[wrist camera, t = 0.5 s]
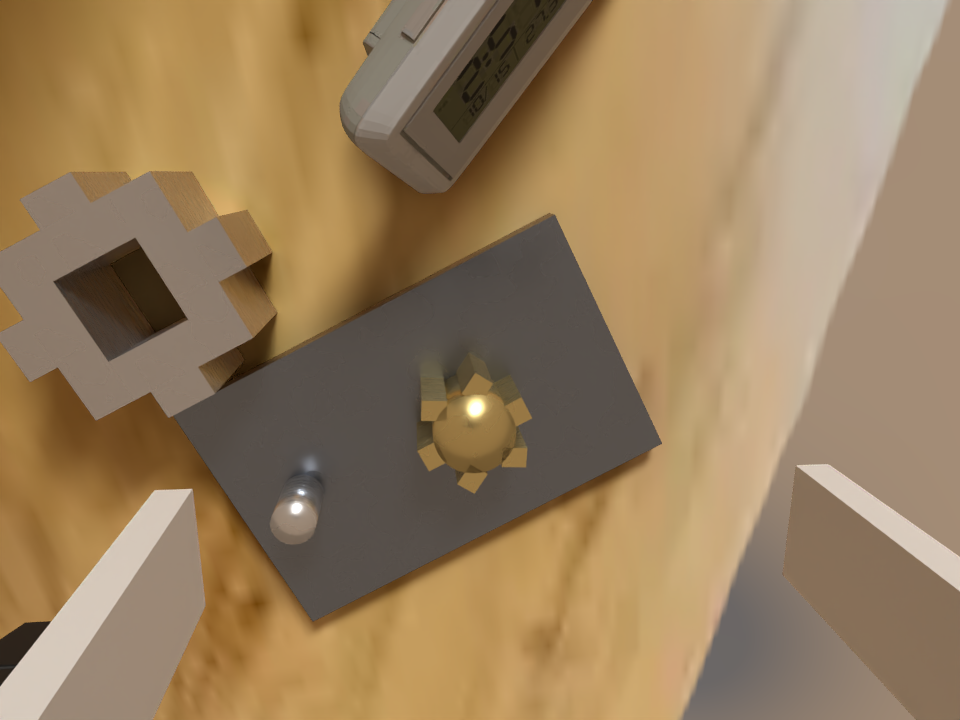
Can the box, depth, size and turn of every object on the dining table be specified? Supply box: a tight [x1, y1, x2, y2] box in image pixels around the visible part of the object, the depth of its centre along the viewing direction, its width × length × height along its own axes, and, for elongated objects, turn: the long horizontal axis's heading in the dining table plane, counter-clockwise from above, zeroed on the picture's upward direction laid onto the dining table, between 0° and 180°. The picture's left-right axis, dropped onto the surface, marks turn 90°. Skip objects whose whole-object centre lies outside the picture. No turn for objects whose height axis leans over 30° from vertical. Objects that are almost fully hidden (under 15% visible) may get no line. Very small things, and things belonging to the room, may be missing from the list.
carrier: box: [173, 213, 662, 621], centre depth 37 cm, size 14×22×6 cm, turn 117°
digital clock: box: [340, 0, 592, 194], centre depth 30 cm, size 16×9×11 cm, turn 131°
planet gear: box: [0, 171, 277, 420], centre depth 34 cm, size 11×11×6 cm
